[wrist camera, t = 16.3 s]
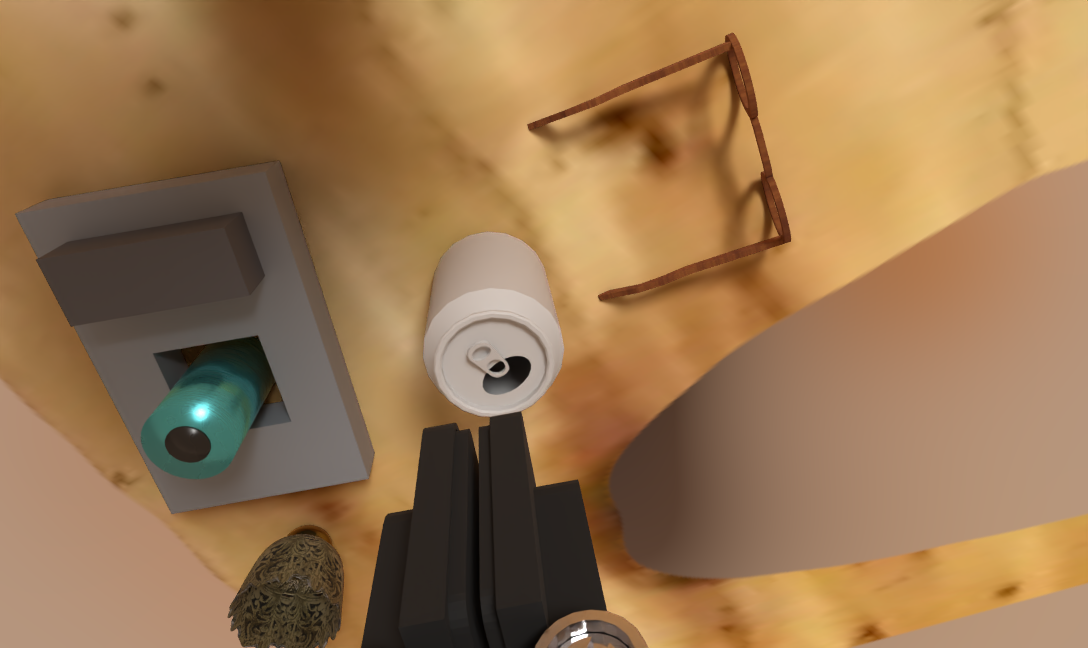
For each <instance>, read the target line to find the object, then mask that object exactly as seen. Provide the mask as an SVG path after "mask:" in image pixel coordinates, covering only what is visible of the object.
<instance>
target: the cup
mask: <svg viewBox="0 0 1088 648" xmlns="http://www.w3.org/2000/svg"><path fill="white" fill-rule="evenodd" d="M343 587H344V572H343V565H342V561H341V558H340V556H339V554H338V553H337V551H336V550H335V548H334V547H333V546H332V541H331V538H330V536H329V534H328V533H327V532H326V531H325V530H323V529H322V528H320V527H317V526H313V525H305V526H300V527H298V528H296V529H294V530H293V531H291V532H290V533H289V534H288V535H287V537H284V538H282V539H280V540H278V541H276V542H274V543H273V544H272V545H270V546H269V547H268V548H267V549H266V550H265V551H264V552H263V553H262V554H261V556H260V557H259V558H258V560H257V561H256V563H255V564H254V566H253V567H252V569H251V571H250V572H249V574H248V576H247V577H246V579H245V581H244V583H243V584H242V586H241V588H240V590H239V592H238V593H237V595H236V597H235V599H234V600H233V602H232V603H231V605H230V612H229V614H228V618H230V617H231V616H233V619H232V621H231V631H234V630H235V629H236V628H237V629H238V638H239V640H240V642H241V645H242V646H243V647H256V648H269V647H270V645H273V646H274V645H275V647H276V648H282V647H284V648H315V647H316V646H317V645H319V646H318V647H319V648H325V646H326V644H327V641H328V637H331V639H332V640H334V639H335V637H336V633H337V631H339V630H340V624H341V612H342V601H343Z"/></svg>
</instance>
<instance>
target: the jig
mask: <svg viewBox="0 0 1088 648" xmlns="http://www.w3.org/2000/svg"><path fill="white" fill-rule="evenodd" d="M15 215H16V217H17V219H18V221H19V223H20V225H21V227H22V229H23V231H24V232H25V234H26V236H27V238H28V240H29V242H30V244H31V246H32V248H33V250H34V252H35V253H36V255H37V257H38V259H36V261H37V263H38V265H39V267H40V269H41V270H42V272H43V274H44V276H45V278H46V280H47V282H48V284H49V286H50V288H51V289H52V291H53V293H54V295H55V297H56V299H57V301H58V303H59V305H60V307H61V309H62V310H63V312H64V314H65V316H66V318H67V320H68V322H69V324H70V326H71V327H72V326H74V328H75V330H76V332H77V334H78V336H79V338H80V340H81V341H82V343H83V345H84V347H85V349H86V351H87V353H88V355H89V357H90V359H91V361H92V362H93V364H94V366H95V368H96V370H97V372H98V374H99V376H100V378H101V380H102V382H103V384H104V385H105V387H106V389H107V391H108V393H109V395H110V397H111V399H112V401H113V403H114V405H115V406H116V408H117V410H118V412H119V414H120V416H121V418H122V420H123V422H124V424H125V426H126V428H127V429H128V431H129V433H130V435H131V437H132V439H133V441H134V443H135V445H136V447H137V449H138V450H139V452H140V454H141V456H142V458H143V460H144V462H145V464H146V466H147V468H148V470H149V471H150V473H151V475H152V477H153V479H154V481H155V483H156V485H157V487H158V489H159V491H160V493H161V494H162V496H163V498H164V500H165V502H166V504H167V506H168V508H169V510H170V512H171V514H175V513H180V512H186V511H191V510H197V509H203V508H208V507H214V506H219V505H225V504H231V503H236V502H242V501H247V500H253V499H259V498H264V497H270V496H275V495H281V494H286V493H292V492H298V491H303V490H309V489H314V488H320V487H326V486H331V485H337V484H342V483H348V482H354V481H359V480H365V479H369V476H370V471H371V467H372V463H373V458H374V454H375V453H374V449H373V446H372V443H371V440H370V437H369V434H368V431H367V428H366V425H365V422H364V419H363V416H362V413H361V410H360V406H359V403H358V400H357V397H356V394H355V391H354V388H353V385H352V382H351V379H350V376H349V373H348V370H347V366H346V363H345V360H344V357H343V354H342V351H341V348H340V345H339V342H338V339H337V336H336V333H335V330H334V327H333V323H332V320H331V317H330V314H329V311H328V308H327V305H326V302H325V299H324V296H323V293H322V290H321V287H320V284H319V280H318V277H317V274H316V271H315V268H314V265H313V262H312V259H311V256H310V253H309V250H308V247H307V244H306V241H305V237H304V234H303V231H302V228H301V225H300V222H299V219H298V216H297V213H296V210H295V207H294V204H293V201H292V198H291V194H290V191H289V188H288V185H287V182H286V179H285V176H284V173H283V170H282V167H281V164H280V161H273V162H268V163H262V164H256V165H250V166H244V167H238V168H232V169H226V170H220V171H214V172H208V173H202V174H196V175H191V176H185V177H179V178H173V179H167V180H161V181H155V182H149V183H143V184H137V185H131V186H125V187H119V188H114V189H108V190H102V191H96V192H90V193H84V194H78V195H72V196H66V197H60V198H54V199H48V200H45V201H43V202H40V203H38V204H36V205H34V206H31V207H29V208H27V209H25V210H23V211H20V212H18V213H16V214H15ZM256 335H258V336H259V339H260V342H261V344H262V347H263V349H264V352H265V355H266V357H267V360H268V362H269V365H270V367H271V370H272V373H273V375H274V378H275V380H276V383H277V386H278V388H279V391H280V393H281V396H282V399H283V401H282V402H277V403H271V404H265V405H262V406H261V408H260V410H259V412H258V414H257V416H256V418H255V419H254V421H253V423H252V425H251V427H250V429H249V431H248V432H247V434H246V436H245V438H244V440H243V442H242V444H241V445H240V447H239V449H238V451H237V453H236V455H235V457H234V458H233V460H232V462H231V464H230V465H229V466H228V467H227V468H226V469H225V470H224V471H223V472H221V473H219V474H217V475H215V476H212V477H209V478H205V479H186V478H181V477H177V476H174V475H171V474H169V473H167V472H165V471H163V470H162V469H160V468H159V467H157V466H156V465H155V464H154V463H153V462H152V461H151V460H150V459H149V458H148V457H147V455H146V453H145V452H144V450H143V447H142V444H141V431H142V427H143V425H144V423H145V422H146V420H147V419H148V418H149V417H150V415H151V414H152V413H153V412H154V410H155V409H156V408H157V407H158V405H159V404H160V403H161V402H162V400H163V399H164V398H165V397H166V395H167V394H168V393H169V392H170V390H171V389H172V388H173V387H174V385H175V384H176V383H177V382H178V380H179V379H180V378H181V377H182V375H183V374H184V373H185V372H186V370H187V369H188V365H187V363H186V361H185V359H184V356H183V354H182V352H181V350H180V349H182V348H187V347H193V346H199V345H204V344H210V343H216V342H222V341H227V340H233V339H239V338H245V337H250V336H256Z"/></svg>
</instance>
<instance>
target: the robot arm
mask: <svg viewBox="0 0 1088 648" xmlns="http://www.w3.org/2000/svg"><path fill="white" fill-rule="evenodd" d="M361 648H648V646H647V644H646V642H645V640H644V639H643V637H642V636H641V634H640V633H639V631H638V630H637V628H636V627H635V626H634V625H632V624H631V623H630V622H628V621H627V620H626V619H625V618H623V617H621V616H619V615H616V614H613V613H611V612H608V611H607V609H606V604H605V600H604V595H603V591H602V586H601V581H600V577H599V572H598V568H597V563H596V559H595V554H594V549H593V545H592V540H591V536H590V531H589V526H588V522H587V517H586V513H585V508H584V504H583V499H582V494H581V490H580V485H579V481H578V480H573V481H567V482H562V483H556V484H551V485H545V486H540V487H536V483H535V478H534V473H533V468H532V463H531V458H530V453H529V448H528V442H527V437H526V432H525V427H524V422H523V417H522V413H521V411H519V412H514V413H508V414H502V415H497V416H491V417H490V425H489V426H483V427H479V463H478V459H477V455H476V451H475V447H474V443H473V438H472V434H471V431H470V429H466V430H461V431H459V428H458V426H457V424H456V423H452V424H446V425H440V426H435V427H429V428H425V429H423V434H422V442H421V450H420V458H419V466H418V474H417V482H416V490H415V498H414V506H413V509H412V510H406V511H401V512H395V513H390V514H387V516H386V517H385V520H384V524H383V529H382V534H381V540H380V545H379V551H378V557H377V562H376V568H375V573H374V579H373V585H372V590H371V596H370V601H369V607H368V613H367V618H366V624H365V629H364V635H363V640H362V646H361Z"/></svg>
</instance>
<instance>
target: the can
mask: <svg viewBox="0 0 1088 648" xmlns="http://www.w3.org/2000/svg"><path fill="white" fill-rule="evenodd" d="M563 353H564V345H563V340H562V334H561V329H560V326H559V322H558V318H557V314H556V310H555V307H554V303H553V299H552V295H551V291H550V288H549V284H548V280H547V276H546V272H545V269H544V266H543V264H542V262H541V261H540V259H539V257H538V256H537V254H536V252H535V251H534V250H533V249H531V248H530V247H529V246H528V245H527V244H526V243H525V242H523V241H522V240H520V239H518V238H515V237H513V236H511V235H508V234H506V233H497V232H482V233H478V234H473V235H469V236H467V237H465V238H463V239H461V240H460V241H458V242H456V243H454V244H453V245H452V246H451V247H450V248H449V249H448V250H447V251H446V252H445V254H444V255H443V256H442V257H441V259H440V261H439V264H438V266H437V268H436V270H435V273H434V279H433V285H432V292H431V298H430V305H429V311H428V317H427V324H426V330H425V336H424V350H423V360H424V363H425V366H426V369H427V373H428V376H429V378H430V379H431V380H432V382H433V383H434V385H435V386H436V387H437V389H438V390H439V391H440V393H442V394H443V395H444V396H445V397H446V398H447V399H448V401H450V402H451V403H453V404H454V405H455V406H457V407H458V408H460V409H461V410H462V411H465V412H468V413H471V414H474V415H477V416H480V417H491V416H497V415H502V414H508V413H514V412H519V411H523V410H525V409H527V408H529V407H531V406H532V405H533V404H535V403H536V402H537V401H538V400H539V399H540V398H541V397H542V396H543V395H544V394H545V392H546V391H547V389H548V388H549V387H550V386H551V385H552V384H553V382H554V380H555V378H556V376H557V374H558V373H559V371H560V369H561V365H562V359H563Z"/></svg>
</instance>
